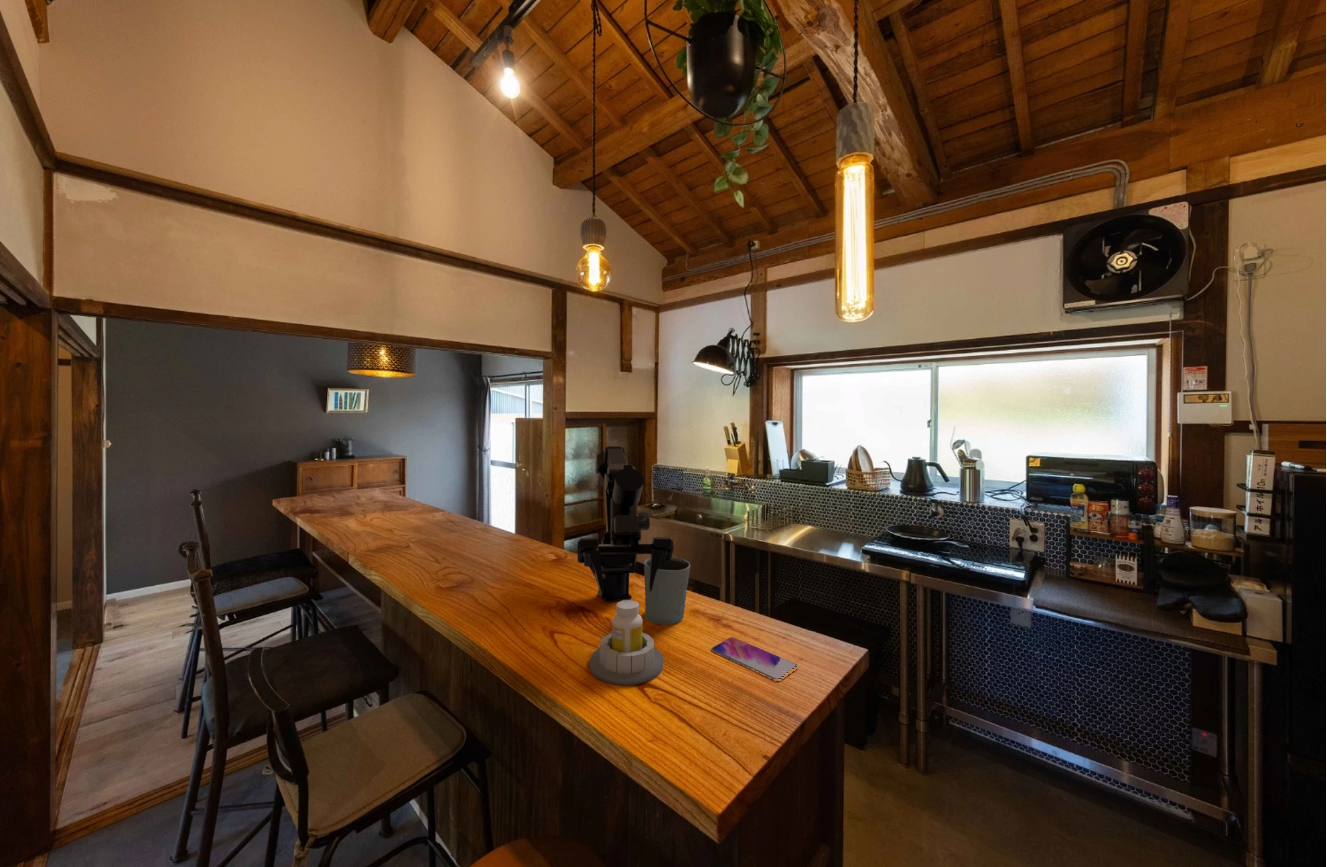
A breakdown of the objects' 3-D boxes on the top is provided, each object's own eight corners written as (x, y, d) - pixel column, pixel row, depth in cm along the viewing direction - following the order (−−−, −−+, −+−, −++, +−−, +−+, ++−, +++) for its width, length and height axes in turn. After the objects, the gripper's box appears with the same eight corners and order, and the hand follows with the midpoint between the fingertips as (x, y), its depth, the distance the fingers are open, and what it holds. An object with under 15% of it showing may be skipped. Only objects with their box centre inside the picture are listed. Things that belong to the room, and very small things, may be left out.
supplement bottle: (642, 650, 88) (643, 598, 88) (641, 666, 83) (642, 610, 83) (612, 650, 88) (613, 598, 88) (610, 666, 83) (611, 610, 82)
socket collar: (643, 641, 94) (644, 621, 94) (676, 674, 83) (677, 651, 83) (579, 655, 88) (580, 634, 88) (605, 693, 77) (606, 668, 77)
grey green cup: (635, 611, 108) (636, 558, 108) (674, 604, 113) (676, 553, 113) (655, 629, 99) (656, 572, 99) (697, 621, 104) (698, 566, 104)
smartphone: (778, 681, 81) (709, 648, 91) (778, 686, 81) (709, 653, 92) (800, 664, 86) (731, 635, 97) (799, 669, 86) (731, 640, 97)
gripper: (578, 497, 93) (575, 572, 83) (673, 497, 96) (682, 571, 85) (579, 526, 101) (576, 599, 91) (666, 526, 104) (673, 596, 94)
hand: (626, 591), depth 90 cm, fingers open, 9 cm apart
